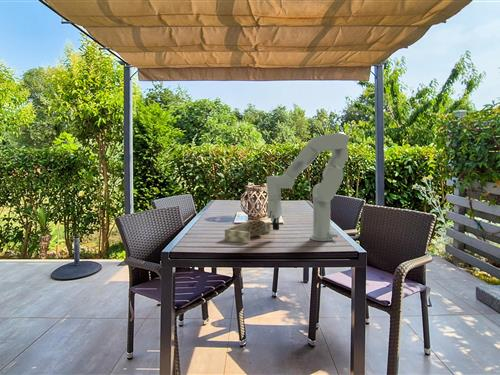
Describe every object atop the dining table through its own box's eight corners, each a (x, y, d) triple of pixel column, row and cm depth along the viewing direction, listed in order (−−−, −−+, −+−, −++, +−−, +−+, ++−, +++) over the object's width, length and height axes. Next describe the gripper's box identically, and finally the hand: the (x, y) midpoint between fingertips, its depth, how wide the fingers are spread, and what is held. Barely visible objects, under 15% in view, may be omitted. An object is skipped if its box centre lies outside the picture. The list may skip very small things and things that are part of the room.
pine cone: (262, 233, 199) (261, 217, 198) (269, 236, 190) (269, 219, 189) (228, 237, 189) (228, 220, 188) (234, 241, 181) (234, 223, 180)
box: (270, 232, 200) (270, 222, 200) (249, 243, 176) (249, 232, 175) (248, 229, 208) (248, 220, 207) (224, 240, 183) (224, 229, 182)
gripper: (273, 195, 190) (275, 226, 192) (262, 199, 177) (264, 232, 179) (285, 195, 186) (287, 227, 188) (275, 199, 173) (276, 233, 175)
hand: (276, 229), depth 183 cm, fingers closed
